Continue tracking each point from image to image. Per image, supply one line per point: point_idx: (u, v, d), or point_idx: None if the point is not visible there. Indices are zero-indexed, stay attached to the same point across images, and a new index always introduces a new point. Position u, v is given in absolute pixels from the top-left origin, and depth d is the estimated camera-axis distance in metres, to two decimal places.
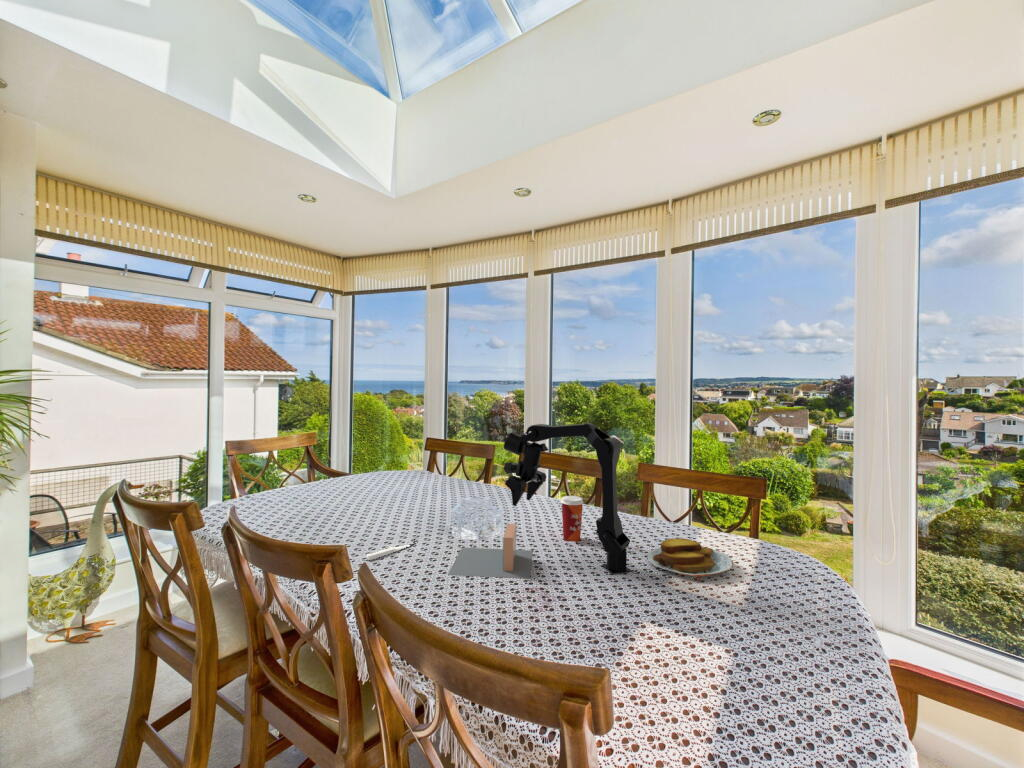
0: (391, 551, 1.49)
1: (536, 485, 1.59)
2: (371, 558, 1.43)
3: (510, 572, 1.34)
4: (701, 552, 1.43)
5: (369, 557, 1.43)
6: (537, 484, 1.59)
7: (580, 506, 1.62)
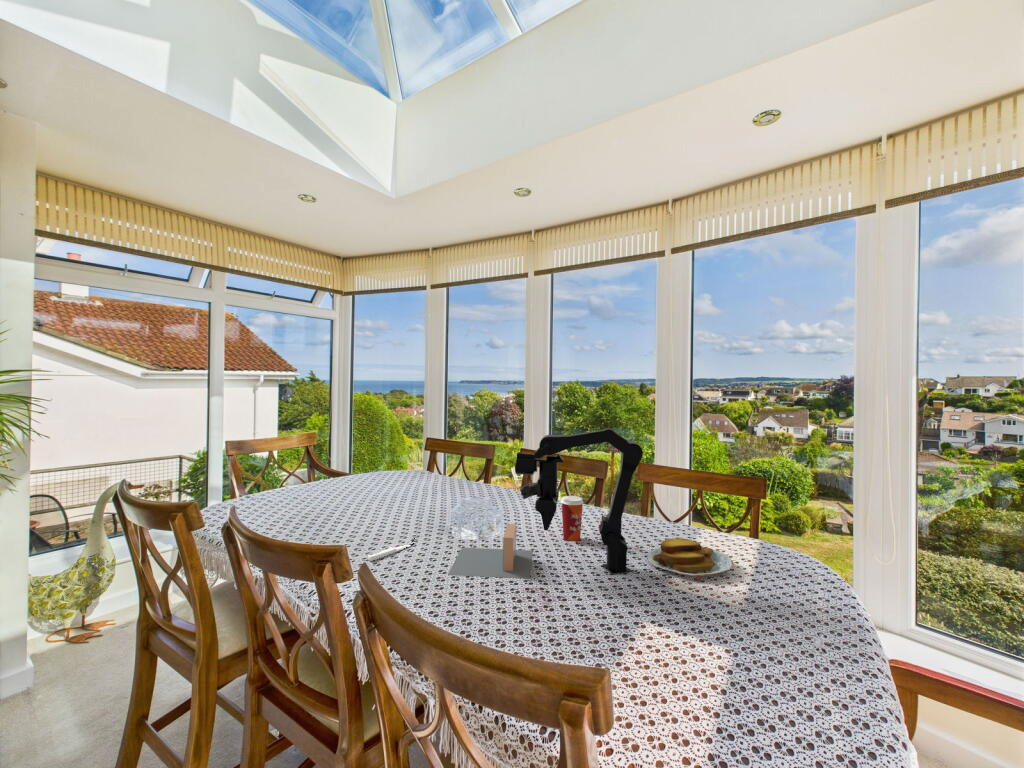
0: (392, 551, 1.49)
1: None
2: (373, 559, 1.42)
3: (510, 572, 1.34)
4: (701, 552, 1.43)
5: (371, 558, 1.42)
6: None
7: (580, 506, 1.62)
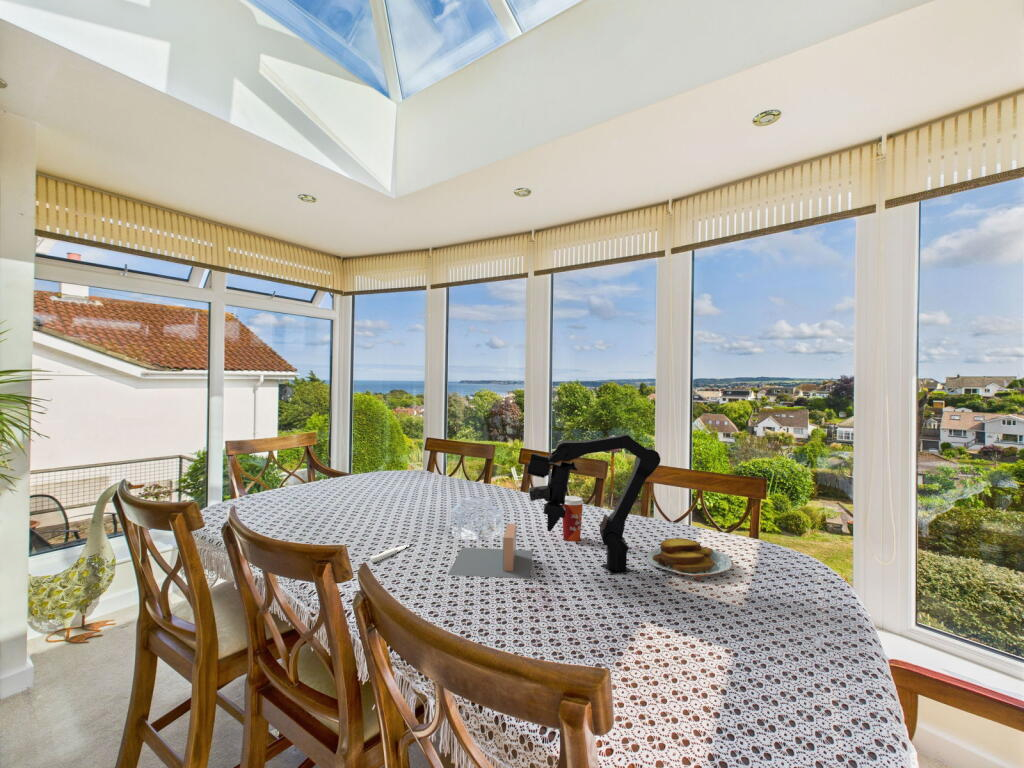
0: (393, 552, 1.48)
1: None
2: (376, 560, 1.41)
3: (510, 572, 1.34)
4: (701, 552, 1.43)
5: (374, 559, 1.41)
6: None
7: (580, 506, 1.62)
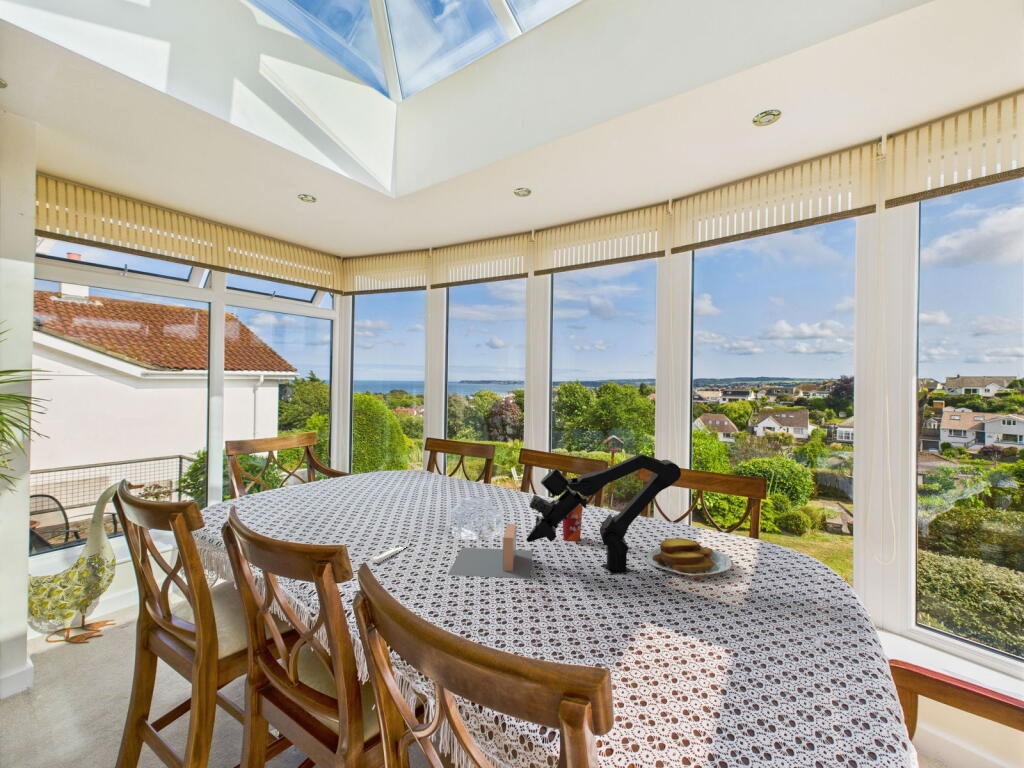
0: (394, 552, 1.48)
1: None
2: (379, 561, 1.41)
3: (510, 572, 1.34)
4: (700, 552, 1.43)
5: (377, 560, 1.40)
6: None
7: (580, 506, 1.62)
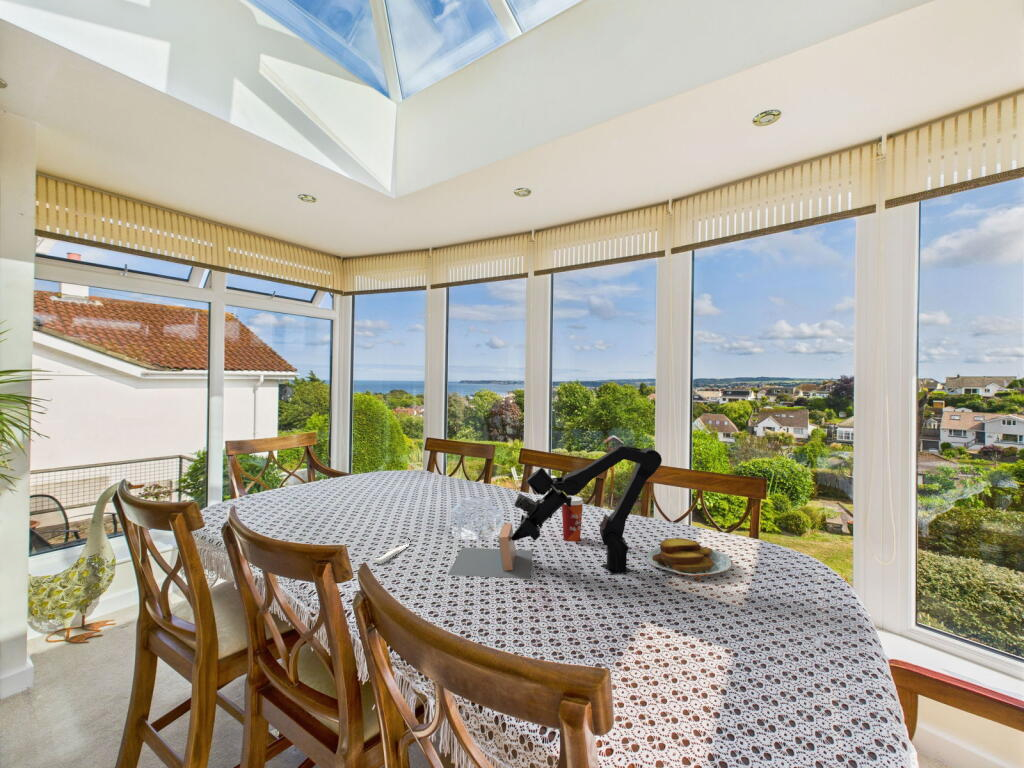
0: (396, 552, 1.48)
1: None
2: (383, 561, 1.40)
3: (510, 572, 1.34)
4: (700, 552, 1.43)
5: (381, 561, 1.40)
6: None
7: (580, 506, 1.62)
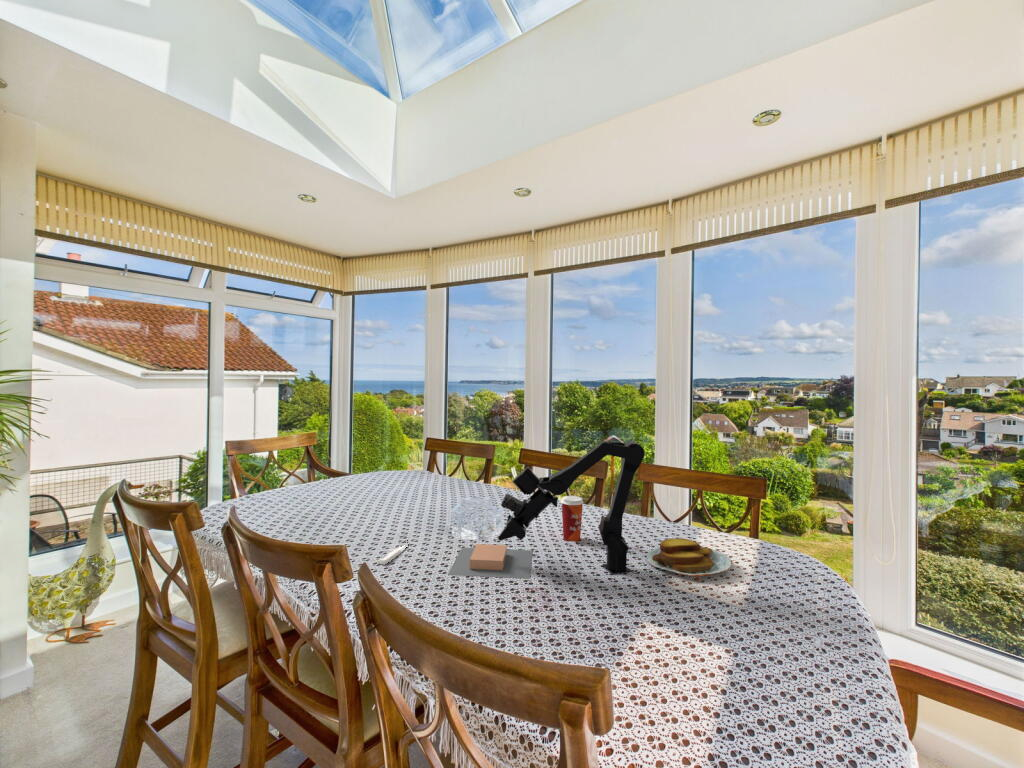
0: (398, 553, 1.47)
1: None
2: (386, 562, 1.40)
3: (510, 572, 1.34)
4: (700, 552, 1.43)
5: (385, 561, 1.40)
6: None
7: (580, 506, 1.62)
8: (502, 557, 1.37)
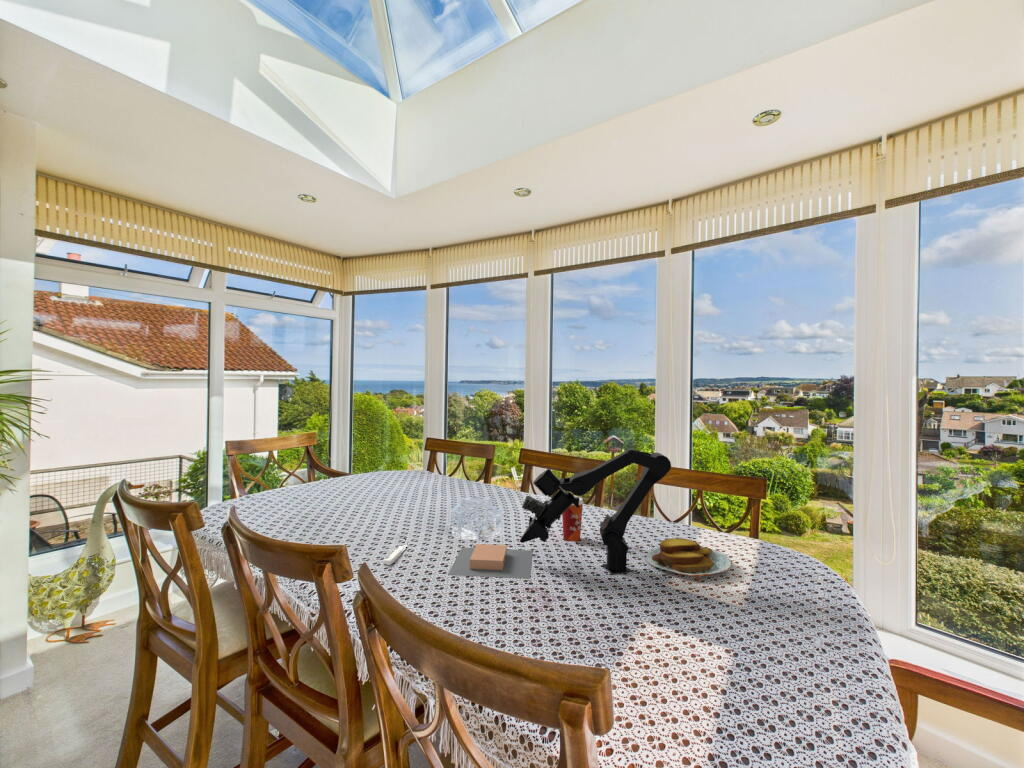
0: (400, 553, 1.47)
1: None
2: (391, 562, 1.40)
3: (510, 572, 1.34)
4: (700, 552, 1.43)
5: (390, 562, 1.39)
6: None
7: (580, 506, 1.62)
8: (502, 557, 1.37)
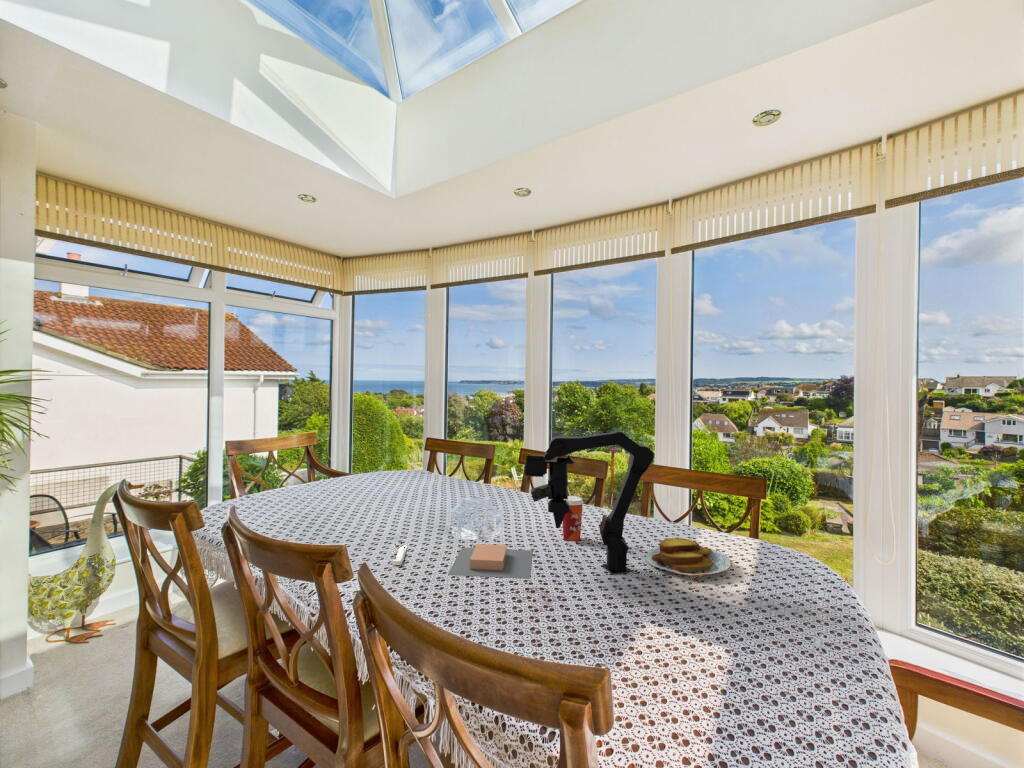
0: (404, 553, 1.47)
1: None
2: (401, 562, 1.40)
3: (510, 572, 1.34)
4: (700, 552, 1.43)
5: (400, 562, 1.39)
6: None
7: (580, 506, 1.62)
8: (502, 557, 1.37)
